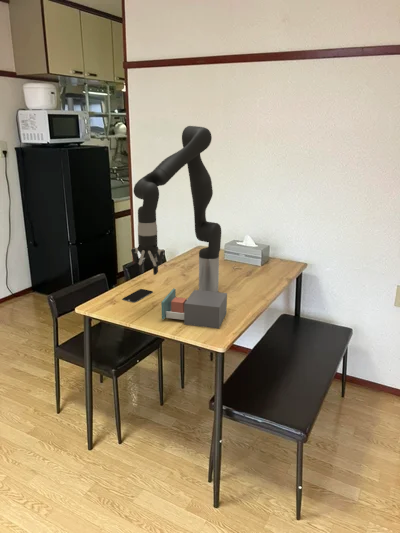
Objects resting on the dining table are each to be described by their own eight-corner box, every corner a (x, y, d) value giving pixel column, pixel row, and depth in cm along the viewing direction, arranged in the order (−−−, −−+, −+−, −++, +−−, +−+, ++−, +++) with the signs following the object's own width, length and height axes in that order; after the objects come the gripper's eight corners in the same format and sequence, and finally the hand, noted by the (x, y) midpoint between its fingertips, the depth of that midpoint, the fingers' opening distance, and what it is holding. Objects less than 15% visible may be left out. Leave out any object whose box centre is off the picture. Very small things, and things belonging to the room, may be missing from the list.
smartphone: (120, 299, 194) (140, 288, 206) (120, 300, 194) (140, 289, 206) (134, 302, 190) (154, 291, 203) (134, 304, 190) (154, 292, 203)
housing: (194, 309, 184) (194, 289, 181) (226, 313, 181) (227, 293, 178) (184, 324, 170) (184, 303, 167) (219, 328, 167) (219, 307, 164)
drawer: (171, 304, 186) (171, 288, 184) (203, 307, 183) (204, 291, 181) (159, 318, 172) (158, 301, 170) (194, 323, 169) (194, 305, 166)
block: (175, 308, 181) (175, 297, 179) (186, 309, 179) (186, 298, 178) (171, 312, 176) (171, 301, 174) (183, 314, 175) (183, 302, 173)
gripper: (126, 233, 168) (128, 275, 173) (161, 236, 165) (162, 278, 170) (134, 229, 175) (135, 269, 180) (167, 231, 172) (168, 272, 177)
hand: (148, 273), depth 175 cm, fingers open, 5 cm apart
